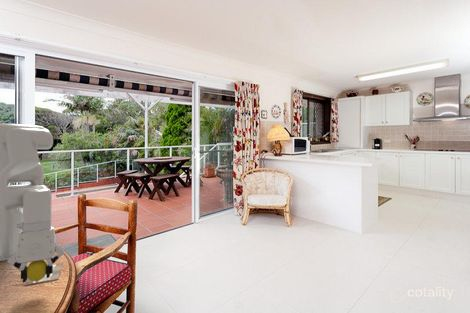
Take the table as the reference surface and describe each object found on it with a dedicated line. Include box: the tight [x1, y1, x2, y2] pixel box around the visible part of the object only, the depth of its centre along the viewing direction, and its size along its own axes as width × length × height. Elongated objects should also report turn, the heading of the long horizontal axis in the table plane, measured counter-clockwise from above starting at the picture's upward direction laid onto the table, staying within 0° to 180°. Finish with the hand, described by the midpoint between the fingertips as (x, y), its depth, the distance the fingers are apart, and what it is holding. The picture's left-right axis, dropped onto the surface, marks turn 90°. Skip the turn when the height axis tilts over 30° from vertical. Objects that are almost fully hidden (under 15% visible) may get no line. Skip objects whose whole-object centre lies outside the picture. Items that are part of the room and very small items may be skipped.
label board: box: [23, 262, 64, 287], centre depth 95 cm, size 14×10×1 cm
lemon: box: [27, 260, 48, 282], centre depth 83 cm, size 6×6×8 cm
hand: (37, 277), depth 83 cm, fingers closed on lemon, 5 cm apart
